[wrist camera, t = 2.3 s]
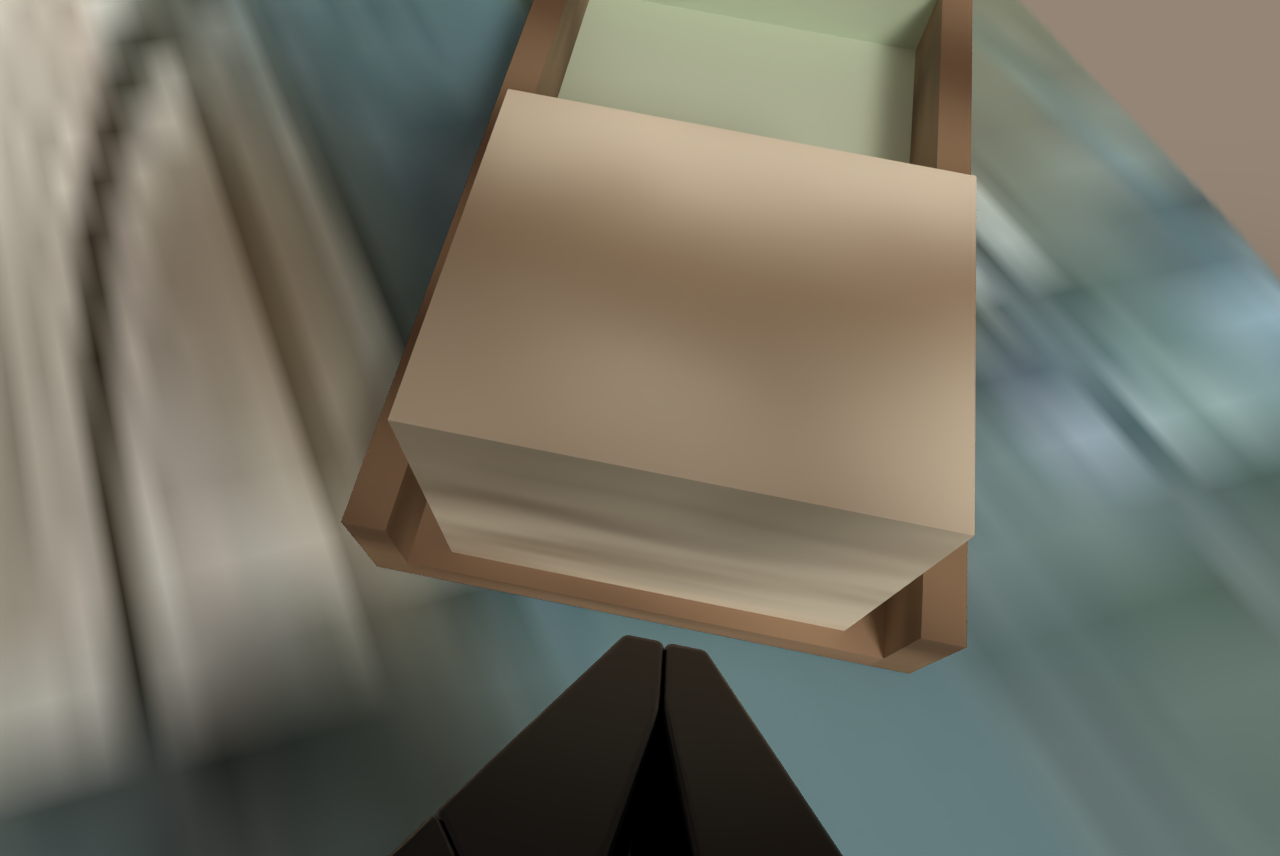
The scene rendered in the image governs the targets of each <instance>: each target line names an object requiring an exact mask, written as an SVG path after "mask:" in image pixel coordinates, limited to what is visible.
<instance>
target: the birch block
mask: <svg viewBox="0 0 1280 856" xmlns="http://www.w3.org/2000/svg"><path fill="white" fill-rule="evenodd" d="M975 338H976V176H973V175H968V174H963V173H957V172H952V171H946V170H941V169H936V168H930V167H925V166H920V165H914V164H909V163H904V162H898V161H893V160H887V159H882V158H877V157H871V156H866V155H861V154H855V153H850V152H844V151H839V150H834V149H828V148H823V147H818V146H812V145H807V144H802V143H796V142H791V141H785V140H780V139H775V138H769V137H764V136H759V135H753V134H748V133H743V132H737V131H732V130H726V129H721V128H716V127H710V126H705V125H700V124H694V123H689V122H683V121H678V120H673V119H667V118H662V117H657V116H651V115H646V114H641V113H635V112H630V111H624V110H619V109H614V108H608V107H603V106H598V105H592V104H587V103H582V102H576V101H571V100H565V99H560V98H555V97H549V96H544V95H539V94H533V93H528V92H522V91H517V90H512V89H508V90H507V93H506V96H505V98H504V101H503V104H502V107H501V109H500V112H499V115H498V118H497V120H496V123H495V126H494V129H493V131H492V134H491V137H490V140H489V142H488V145H487V148H486V151H485V154H484V156H483V159H482V162H481V165H480V167H479V170H478V173H477V176H476V178H475V181H474V184H473V187H472V189H471V192H470V195H469V198H468V200H467V203H466V206H465V209H464V211H463V214H462V217H461V220H460V222H459V225H458V228H457V231H456V233H455V236H454V239H453V242H452V244H451V247H450V250H449V253H448V255H447V258H446V261H445V264H444V266H443V269H442V272H441V275H440V277H439V280H438V283H437V286H436V288H435V291H434V294H433V297H432V299H431V302H430V305H429V308H428V310H427V313H426V316H425V319H424V321H423V324H422V327H421V330H420V332H419V335H418V338H417V341H416V343H415V346H414V349H413V352H412V354H411V357H410V360H409V363H408V365H407V368H406V371H405V374H404V376H403V379H402V382H401V385H400V387H399V390H398V393H397V396H396V398H395V401H394V404H393V407H392V409H391V412H390V415H389V418H388V422H389V424H390V426H391V428H392V430H393V432H394V434H395V436H396V438H397V440H398V442H399V444H400V446H401V448H402V450H403V453H404V455H405V457H406V459H407V461H408V463H409V465H410V467H411V469H412V471H413V473H414V475H415V477H416V479H417V481H418V483H419V485H420V488H421V490H422V492H423V494H424V496H425V498H426V500H427V502H428V504H429V506H430V508H431V510H432V512H433V514H434V516H435V518H436V520H437V523H438V525H439V527H440V529H441V531H442V533H443V535H444V537H445V539H446V541H447V543H448V545H449V547H450V549H451V551H452V552H455V553H460V554H464V555H469V556H474V557H479V558H484V559H489V560H494V561H499V562H504V563H509V564H514V565H519V566H524V567H529V568H534V569H539V570H544V571H549V572H554V573H559V574H564V575H569V576H574V577H579V578H584V579H589V580H594V581H599V582H604V583H609V584H614V585H619V586H624V587H629V588H634V589H639V590H644V591H649V592H654V593H659V594H664V595H669V596H674V597H678V598H683V599H688V600H693V601H698V602H703V603H708V604H713V605H718V606H723V607H728V608H733V609H738V610H743V611H748V612H753V613H758V614H763V615H768V616H773V617H778V618H783V619H788V620H793V621H798V622H803V623H808V624H813V625H818V626H823V627H828V628H833V629H838V630H843V631H845V630H846V629H848V628H849V627H851V626H852V625H853V624H855V623H856V622H857V621H859V620H860V619H862V618H863V617H864V616H866V615H867V614H868V613H870V612H871V611H872V610H874V609H875V608H877V607H878V606H879V605H881V604H882V603H883V602H885V601H886V600H887V599H889V598H890V597H892V596H893V595H894V594H896V593H897V592H898V591H900V590H901V589H902V588H904V587H905V586H907V585H908V584H909V583H911V582H912V581H913V580H915V579H916V578H917V577H919V576H920V575H922V574H923V573H924V572H926V571H927V570H928V569H930V568H931V567H932V566H934V565H935V564H937V563H938V562H939V561H941V560H942V559H943V558H945V557H946V556H948V555H949V554H950V553H952V552H953V551H954V550H956V549H957V548H958V547H960V546H961V545H963V544H964V543H965V542H967V541H968V540H969V539H971V538H972V537H973V536H975Z"/></svg>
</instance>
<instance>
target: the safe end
mask: <svg viewBox="0 0 1280 856" xmlns="http://www.w3.org/2000/svg"><path fill="white" fill-rule="evenodd" d="M936 2H937V0H589V2H588V5H587V8H586V11H585V14H584V17H583V21H582V24H581V27H580V30H579V33H578V36H577V39H576V42H575V45H574V48H573V51H572V55H571V58H570V61H569V64H568V67H567V70H566V73H565V76H564V79H563V82H562V85H561V89H560V92H559V95H558V98H560V99H565V100H571V101H576V102H582V103H587V104H592V105H598V106H603V107H608V108H614V109H619V110H624V111H630V112H635V113H641V114H646V115H651V116H657V117H662V118H667V119H673V120H678V121H683V122H689V123H694V124H700V125H705V126H710V127H716V128H721V129H726V130H732V131H737V132H743V133H748V134H753V135H759V136H764V137H769V138H775V139H780V140H785V141H791V142H796V143H802V144H807V145H812V146H818V147H823V148H828V149H834V150H839V151H844V152H850V153H855V154H861V155H866V156H871V157H877V158H882V159H887V160H893V161H898V162H904V163H909V164H910V148H911V129H912V110H913V91H914V73H915V54H916V49H917V46H918V44H919V42H920V39H921V37H922V35H923V32H924V30H925V28H926V25H927V23H928V21H929V18H930V16H931V14H932V11H933V9H934V7H935V4H936Z"/></svg>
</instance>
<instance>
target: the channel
mask: <svg viewBox="0 0 1280 856" xmlns="http://www.w3.org/2000/svg"><path fill="white" fill-rule="evenodd" d="M588 2H589V0H534V1H533V3H532V6H531V9H530V11H529V14H528V17H527V20H526V22H525V25H524V28H523V30H522V33H521V36H520V38H519V41H518V44H517V47H516V49H515V52H514V55H513V57H512V60H511V63H510V66H509V68H508V71H507V74H506V76H505V79H504V82H503V85H502V87H501V90H500V93H499V95H498V98H497V101H496V104H495V106H494V109H493V112H492V114H491V117H490V120H489V123H488V125H487V128H486V131H485V133H484V136H483V139H482V142H481V144H480V147H479V150H478V152H477V155H476V158H475V160H474V163H473V166H472V169H471V171H470V174H469V177H468V179H467V182H466V185H465V188H464V190H463V193H462V196H461V198H460V201H459V204H458V207H457V209H456V212H455V215H454V217H453V220H452V223H451V226H450V228H449V231H448V234H447V236H446V239H445V242H444V245H443V247H442V250H441V253H440V255H439V258H438V261H437V264H436V266H435V269H434V272H433V274H432V277H431V280H430V282H429V285H428V288H427V291H426V293H425V296H424V299H423V301H422V304H421V307H420V310H419V312H418V315H417V318H416V320H415V323H414V326H413V329H412V331H411V334H410V337H409V339H408V342H407V345H406V348H405V350H404V353H403V356H402V358H401V361H400V364H399V367H398V369H397V372H396V375H395V377H394V380H393V383H392V386H391V388H390V391H389V394H388V396H387V399H386V402H385V404H384V407H383V410H382V413H381V415H380V418H379V421H378V423H377V426H376V429H375V432H374V434H373V437H372V440H371V442H370V445H369V448H368V451H367V453H366V456H365V459H364V461H363V464H362V467H361V470H360V472H359V475H358V478H357V480H356V483H355V486H354V489H353V491H352V494H351V497H350V499H349V502H348V505H347V508H346V510H345V513H344V516H343V518H342V521H341V522H342V523H343V525H344V526H345V527H346V528H347V530H348V531H349V532H350V533H351V535H352V536H353V537H354V538H355V539H356V541H357V542H358V543H359V544H360V546H361V547H362V548H363V549H364V551H365V552H366V553H367V554H368V556H369V557H370V558H371V559H372V561H373V562H374V563H375V564H376V566H378V567H383V568H388V569H393V570H398V571H403V572H408V573H413V574H418V575H423V576H428V577H433V578H438V579H443V580H448V581H453V582H458V583H463V584H468V585H473V586H478V587H482V588H487V589H492V590H497V591H502V592H507V593H512V594H517V595H522V596H527V597H532V598H537V599H542V600H547V601H552V602H557V603H562V604H567V605H572V606H577V607H582V608H587V609H591V610H596V611H601V612H606V613H611V614H616V615H621V616H626V617H631V618H636V619H641V620H646V621H651V622H656V623H661V624H666V625H671V626H676V627H681V628H686V629H691V630H696V631H700V632H705V633H710V634H715V635H720V636H725V637H730V638H735V639H740V640H745V641H750V642H755V643H760V644H765V645H770V646H775V647H780V648H785V649H790V650H795V651H800V652H805V653H809V654H814V655H819V656H824V657H829V658H834V659H839V660H844V661H849V662H854V663H859V664H864V665H869V666H874V667H879V668H884V669H889V670H894V671H899V672H904V673H911V672H914V671H916V670H918V669H920V668H922V667H925V666H927V665H929V664H931V663H933V662H936V661H938V660H940V659H942V658H944V657H946V656H949V655H951V654H953V653H955V652H957V651H960V650H962V649H964V648H966V647H967V551H968V541H967V542H965V543H964V544H963V545H961V546H960V547H958V548H957V549H956V550H954V551H953V552H952V553H950V554H949V555H948V556H946V557H945V558H943V559H942V560H941V561H939V562H938V563H937V564H935V565H934V566H932V567H931V568H930V569H928V570H927V571H926V572H924V573H923V574H922V575H920V576H919V577H917V578H916V579H915V580H913V581H912V582H911V583H909V584H908V585H907V586H905V587H904V588H902V589H901V590H900V591H898V592H897V593H896V594H894V595H893V596H892V597H890V598H889V599H887V600H886V601H885V602H883V603H882V604H881V605H879V606H878V607H877V608H875V609H874V610H872V611H871V612H870V613H868V614H867V615H866V616H864V617H863V618H862V619H860V620H859V621H857V622H856V623H855V624H853V625H852V626H851V627H849V628H848V629H846V630H845V631H843V630H838V629H833V628H828V627H823V626H818V625H813V624H808V623H803V622H798V621H793V620H788V619H783V618H778V617H773V616H768V615H763V614H758V613H753V612H748V611H743V610H738V609H733V608H728V607H723V606H718V605H713V604H708V603H703V602H698V601H693V600H688V599H683V598H678V597H674V596H669V595H664V594H659V593H654V592H649V591H644V590H639V589H634V588H629V587H624V586H619V585H614V584H609V583H604V582H599V581H594V580H589V579H584V578H579V577H574V576H569V575H564V574H559V573H554V572H549V571H544V570H539V569H534V568H529V567H524V566H519V565H514V564H509V563H504V562H499V561H494V560H489V559H484V558H479V557H474V556H469V555H464V554H460V553H455V552H452V551H451V549H450V547H449V545H448V543H447V541H446V539H445V537H444V535H443V533H442V531H441V529H440V527H439V525H438V523H437V520H436V518H435V516H434V514H433V512H432V510H431V508H430V506H429V504H428V502H427V500H426V498H425V496H424V494H423V492H422V490H421V488H420V485H419V483H418V481H417V479H416V477H415V475H414V473H413V471H412V469H411V467H410V465H409V463H408V461H407V459H406V457H405V455H404V453H403V450H402V448H401V446H400V444H399V442H398V440H397V438H396V436H395V434H394V432H393V430H392V428H391V426H390V424H389V422H388V418H389V415H390V412H391V409H392V407H393V404H394V401H395V398H396V396H397V393H398V390H399V387H400V385H401V382H402V379H403V376H404V374H405V371H406V368H407V365H408V363H409V360H410V357H411V354H412V352H413V349H414V346H415V343H416V341H417V338H418V335H419V332H420V330H421V327H422V324H423V321H424V319H425V316H426V313H427V310H428V308H429V305H430V302H431V299H432V297H433V294H434V291H435V288H436V286H437V283H438V280H439V277H440V275H441V272H442V269H443V266H444V264H445V261H446V258H447V255H448V253H449V250H450V247H451V244H452V242H453V239H454V236H455V233H456V231H457V228H458V225H459V222H460V220H461V217H462V214H463V211H464V209H465V206H466V203H467V200H468V198H469V195H470V192H471V189H472V187H473V184H474V181H475V178H476V176H477V173H478V170H479V167H480V165H481V162H482V159H483V156H484V154H485V151H486V148H487V145H488V142H489V140H490V137H491V134H492V131H493V129H494V126H495V123H496V120H497V118H498V115H499V112H500V109H501V107H502V104H503V101H504V98H505V96H506V93H507V90H508V89H512V90H517V91H522V92H528V93H533V94H539V95H544V96H549V97H555V98H558V95H559V92H560V89H561V85H562V82H563V79H564V76H565V73H566V70H567V67H568V64H569V61H570V58H571V55H572V51H573V48H574V45H575V42H576V39H577V36H578V33H579V30H580V27H581V24H582V21H583V17H584V14H585V11H586V8H587V5H588ZM971 99H972V0H937V2H936V4H935V7H934V9H933V11H932V14H931V16H930V18H929V21H928V23H927V25H926V28H925V30H924V32H923V35H922V37H921V39H920V42H919V44H918V46H917V49H916V54H915V73H914V91H913V110H912V129H911V148H910V164H914V165H920V166H925V167H930V168H936V169H941V170H946V171H952V172H957V173H963V174H968V175H971Z"/></svg>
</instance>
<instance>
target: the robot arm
mask: <svg viewBox="0 0 1280 856" xmlns="http://www.w3.org/2000/svg"><path fill="white" fill-rule="evenodd" d="M389 856H843V855H842V854H841V852H840V851H839V849H838V848H837V846H836V845H835V843H834V842H833V840H832V839H831V837H830V836H829V834H828V833H827V831H826V830H825V828H824V827H823V826H822V824H821V823H820V821H819V820H818V818H817V817H816V815H815V814H814V812H813V811H812V809H811V808H810V806H809V805H808V803H807V802H806V800H805V799H804V797H803V796H802V794H801V793H800V791H799V790H798V788H797V787H796V785H795V784H794V782H793V781H792V779H791V778H790V776H789V775H788V773H787V772H786V770H785V769H784V767H783V766H782V764H781V763H780V761H779V760H778V758H777V757H776V755H775V754H774V752H773V751H772V749H771V748H770V746H769V745H768V743H767V742H766V740H765V739H764V737H763V736H762V734H761V733H760V731H759V730H758V728H757V727H756V725H755V724H754V722H753V721H752V719H751V718H750V716H749V715H748V713H747V712H746V710H745V709H744V707H743V706H742V704H741V703H740V701H739V700H738V698H737V697H736V695H735V694H734V692H733V691H732V689H731V688H730V686H729V685H728V683H727V682H726V680H725V679H724V677H723V676H722V674H721V673H720V671H719V670H718V668H717V667H716V665H715V664H714V662H713V661H712V659H711V658H710V656H709V655H708V654H707V653H706V652H705V651H703V650H701V649H696V648H691V647H685V646H680V645H675V644H669V645H667V646H666V647H665V649H664V647H663V645H662V644H661V643H660V642H659V641H655V640H650V639H645V638H641V637H636V636H631V635H626V636H623V637H622V638H621V639H620V640H619V641H618V642H616V643H615V644H614V645H613V646H612V647H611V648H610V649H609V650H608V651H607V652H606V653H605V654H604V655H603V656H602V657H600V658H599V659H598V660H597V661H596V662H595V663H594V664H593V665H592V666H591V667H590V668H589V669H588V670H587V671H586V672H585V673H583V674H582V675H581V676H580V677H579V678H578V679H577V680H576V681H575V682H574V683H573V684H572V685H571V686H570V687H569V688H567V689H566V690H565V691H564V692H563V693H562V694H561V695H560V696H559V697H558V698H557V699H556V700H555V701H554V702H553V703H552V704H550V705H549V706H548V707H547V708H546V709H545V710H544V711H543V712H542V713H541V714H540V715H539V716H538V717H537V718H536V719H535V720H533V721H532V722H531V723H530V724H529V725H528V726H527V727H526V728H525V729H524V730H523V731H522V732H521V733H520V734H519V735H517V736H516V737H515V738H514V739H513V740H512V741H511V742H510V743H509V744H508V745H507V746H506V747H505V748H504V749H503V750H502V751H500V752H499V753H498V754H497V755H496V756H495V757H494V758H493V759H492V760H491V761H490V762H489V763H488V764H487V765H486V766H484V767H483V768H482V769H481V770H480V771H479V772H478V773H477V774H476V775H475V776H474V777H473V778H472V779H471V780H470V781H469V782H467V783H466V784H465V785H464V786H463V787H462V788H461V789H460V790H459V791H458V792H457V793H456V794H455V795H454V796H453V797H451V798H450V799H449V800H448V801H447V802H446V803H445V804H444V805H443V806H442V807H441V808H440V809H439V810H438V811H437V812H436V815H435V816H432V817H430V818H428V819H427V820H426V821H425V822H424V823H423V824H422V825H421V826H420V827H419V828H418V829H417V830H416V831H415V832H414V833H413V834H412V835H410V836H409V837H408V838H407V839H406V840H405V841H404V842H403V843H402V844H401V845H400V846H399V847H398V848H397V849H395V850H394V851H393V852H392V853H391V854H390V855H389Z"/></svg>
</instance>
